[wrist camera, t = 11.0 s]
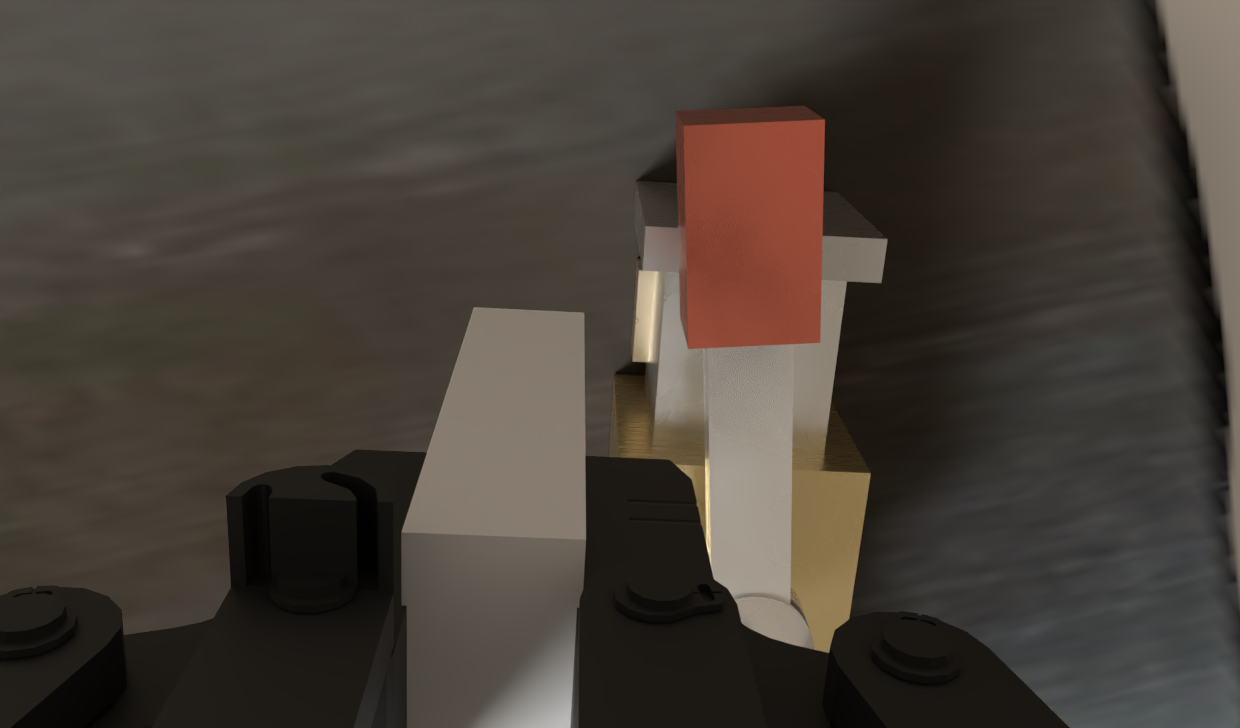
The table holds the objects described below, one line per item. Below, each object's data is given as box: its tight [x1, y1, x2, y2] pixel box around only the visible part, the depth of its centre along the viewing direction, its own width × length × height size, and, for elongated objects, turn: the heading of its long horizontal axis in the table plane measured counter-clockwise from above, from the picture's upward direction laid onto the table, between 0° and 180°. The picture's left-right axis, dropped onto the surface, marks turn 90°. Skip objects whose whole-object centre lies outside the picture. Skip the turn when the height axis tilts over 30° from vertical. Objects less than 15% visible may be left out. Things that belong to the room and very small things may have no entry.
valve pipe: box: [609, 181, 888, 653], centre depth 35 cm, size 20×7×9 cm, turn 177°
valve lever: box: [675, 106, 825, 649], centre depth 28 cm, size 15×3×2 cm, turn 2°
